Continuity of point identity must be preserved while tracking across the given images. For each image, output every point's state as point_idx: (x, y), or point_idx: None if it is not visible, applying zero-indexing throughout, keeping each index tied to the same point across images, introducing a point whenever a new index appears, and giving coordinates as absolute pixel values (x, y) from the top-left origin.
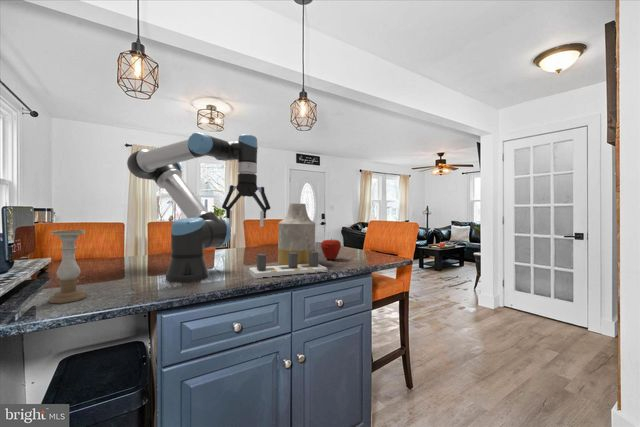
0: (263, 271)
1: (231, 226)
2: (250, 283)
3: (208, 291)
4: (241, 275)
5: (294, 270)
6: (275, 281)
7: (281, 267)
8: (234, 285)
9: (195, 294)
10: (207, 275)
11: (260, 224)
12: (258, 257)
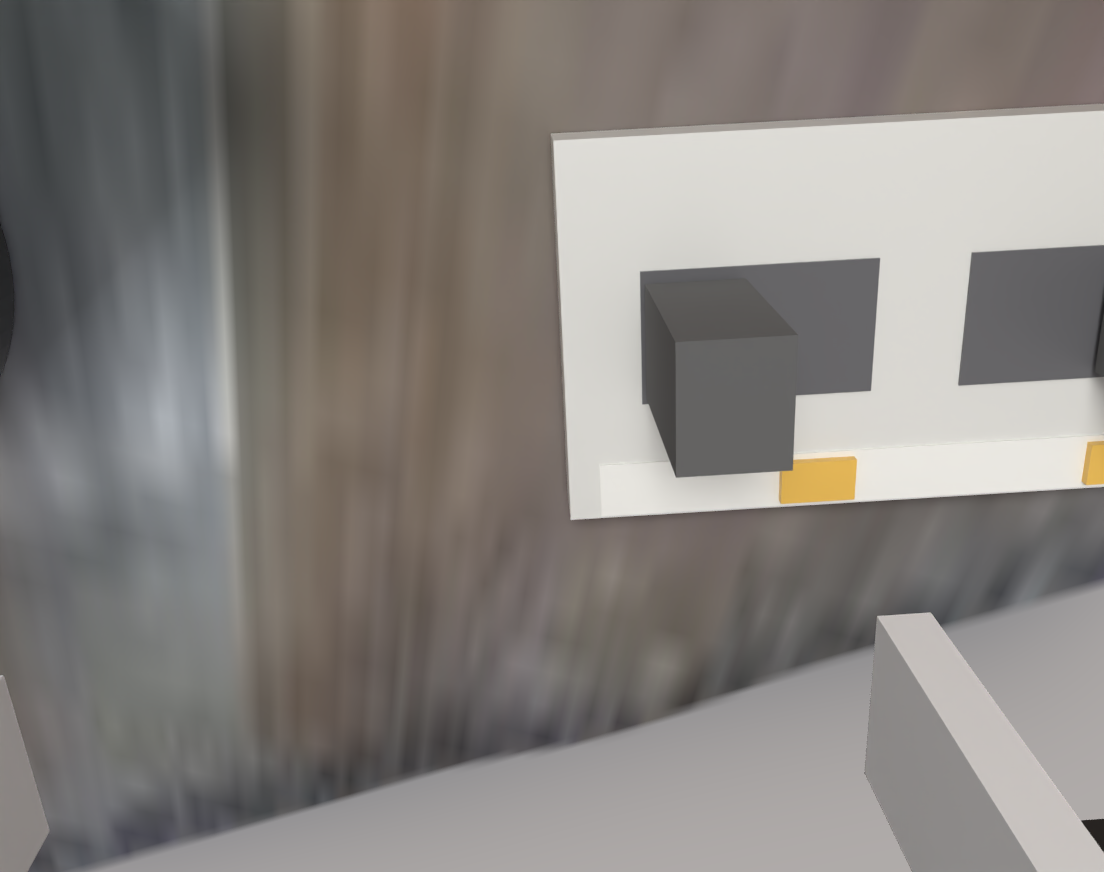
0: None
1: (37, 841)
2: (491, 664)
3: (111, 809)
4: (434, 295)
5: (1075, 485)
6: (747, 655)
7: (997, 277)
8: (333, 692)
9: None
10: (1, 329)
11: (892, 699)
12: (670, 434)
